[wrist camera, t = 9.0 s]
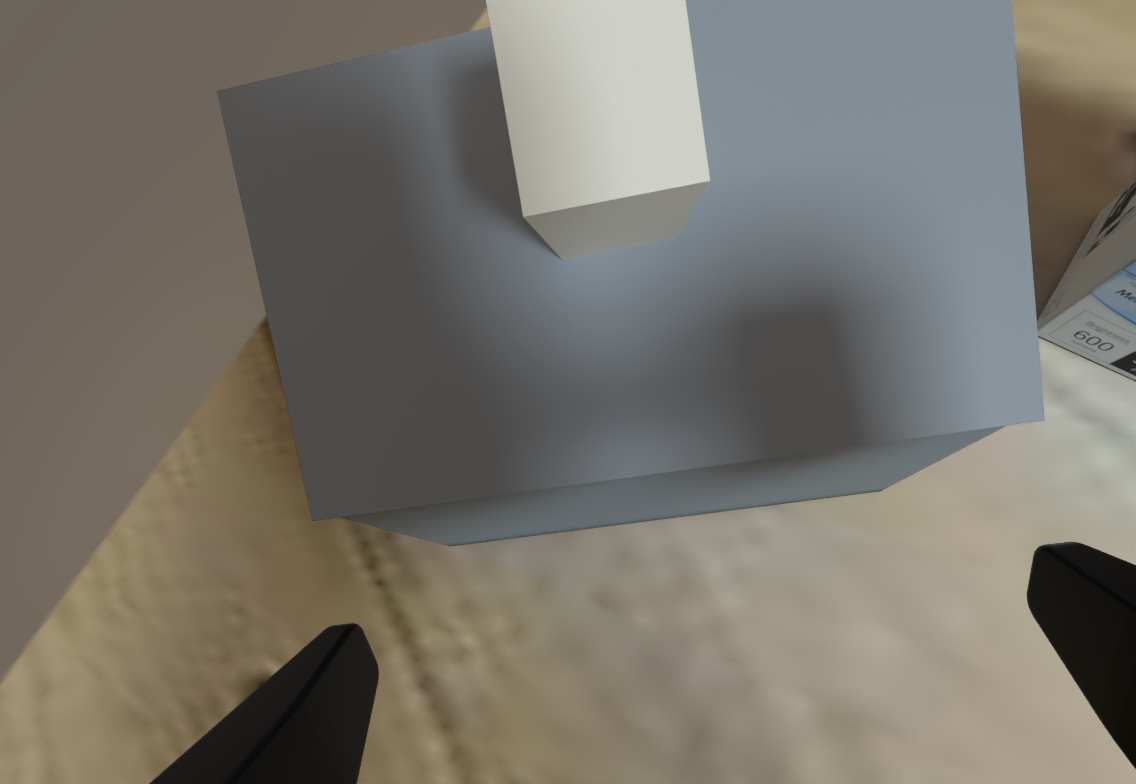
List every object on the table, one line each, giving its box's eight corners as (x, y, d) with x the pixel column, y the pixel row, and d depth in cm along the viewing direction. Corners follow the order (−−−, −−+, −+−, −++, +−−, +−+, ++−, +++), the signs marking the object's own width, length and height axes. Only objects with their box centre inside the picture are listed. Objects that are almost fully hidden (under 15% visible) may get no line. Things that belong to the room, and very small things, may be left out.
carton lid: (1017, 414, 12) (1355, 490, 7) (329, 509, 14) (134, 634, 9) (977, -65, 11) (1336, -454, 6) (240, 105, 13) (-49, -63, 8)
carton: (880, 491, 20) (1007, 425, 13) (449, 546, 22) (339, 516, 14) (807, 256, 24) (872, 98, 16) (444, 320, 25) (353, 204, 18)
